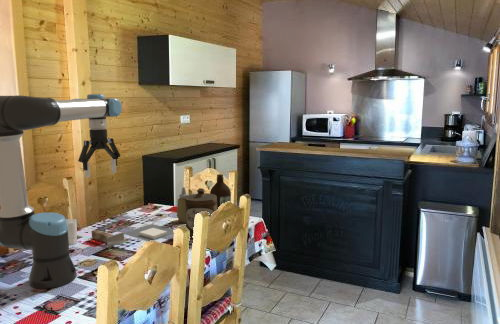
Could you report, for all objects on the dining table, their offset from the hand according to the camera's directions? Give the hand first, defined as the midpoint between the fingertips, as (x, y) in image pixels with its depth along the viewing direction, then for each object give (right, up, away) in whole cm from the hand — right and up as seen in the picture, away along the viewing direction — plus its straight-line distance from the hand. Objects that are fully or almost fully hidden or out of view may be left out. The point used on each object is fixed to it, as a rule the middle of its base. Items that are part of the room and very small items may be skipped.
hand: (101, 175), depth 193 cm
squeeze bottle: (+35, -25, +25) cm, 49 cm away
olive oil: (+54, -25, +22) cm, 63 cm away
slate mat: (+22, -28, +6) cm, 36 cm away
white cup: (-12, -30, -6) cm, 33 cm away
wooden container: (+46, -28, +4) cm, 54 cm away
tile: (+20, -27, +5) cm, 33 cm away
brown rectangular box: (+3, -30, -5) cm, 30 cm away
